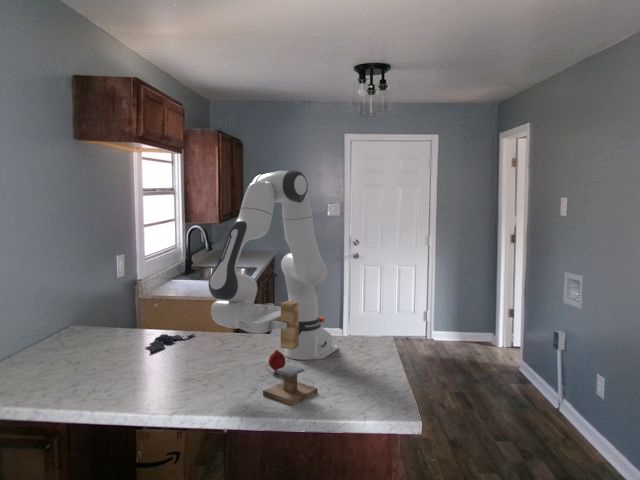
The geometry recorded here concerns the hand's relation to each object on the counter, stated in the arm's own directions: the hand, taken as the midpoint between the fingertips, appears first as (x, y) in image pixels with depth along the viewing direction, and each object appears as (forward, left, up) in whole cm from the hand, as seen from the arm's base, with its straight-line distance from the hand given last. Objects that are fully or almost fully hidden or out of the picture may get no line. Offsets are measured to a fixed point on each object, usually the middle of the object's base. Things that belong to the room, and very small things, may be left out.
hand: (292, 323), depth 162 cm
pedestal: (0, -1, -23) cm, 23 cm away
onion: (-12, -18, -23) cm, 31 cm away
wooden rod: (0, -1, -7) cm, 8 cm away
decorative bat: (-7, -76, -23) cm, 80 cm away
